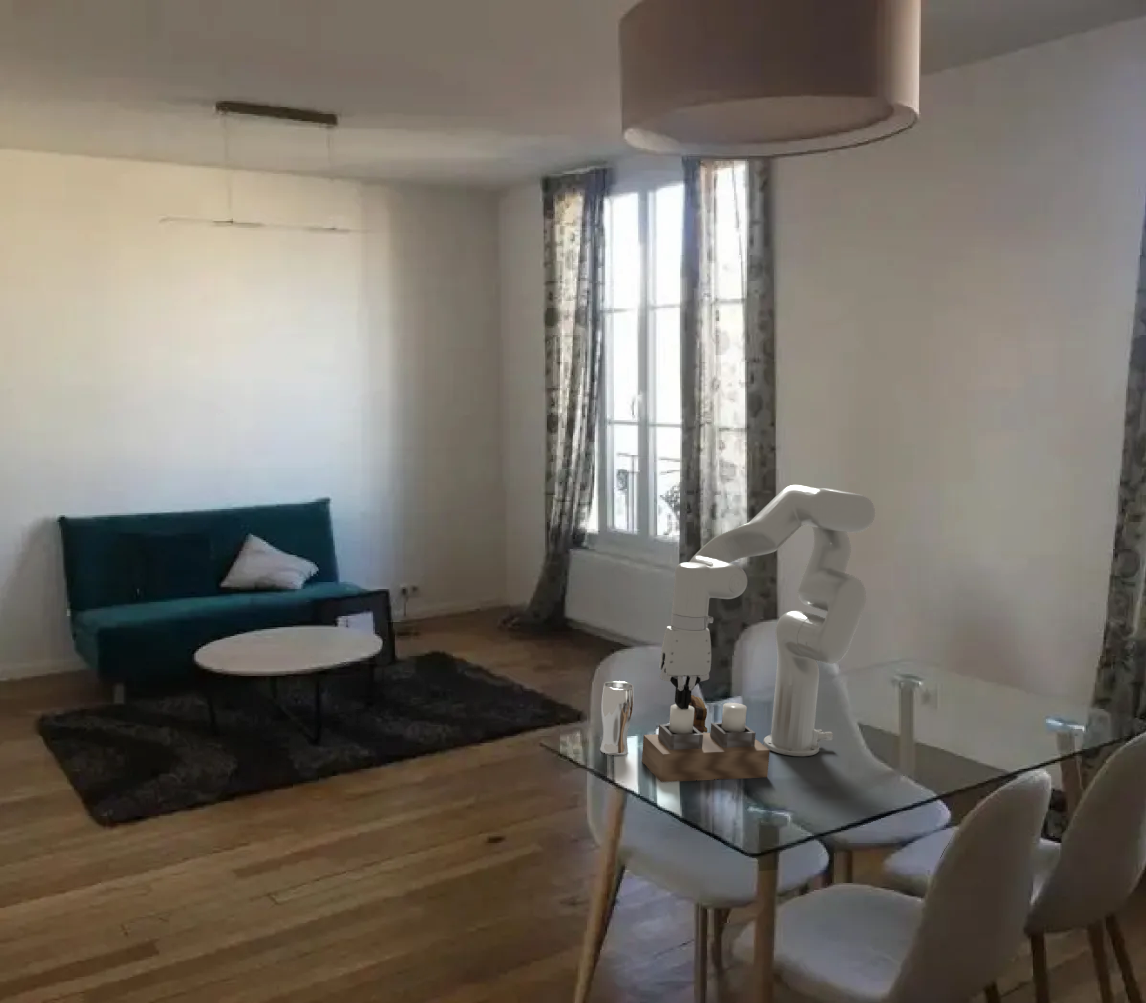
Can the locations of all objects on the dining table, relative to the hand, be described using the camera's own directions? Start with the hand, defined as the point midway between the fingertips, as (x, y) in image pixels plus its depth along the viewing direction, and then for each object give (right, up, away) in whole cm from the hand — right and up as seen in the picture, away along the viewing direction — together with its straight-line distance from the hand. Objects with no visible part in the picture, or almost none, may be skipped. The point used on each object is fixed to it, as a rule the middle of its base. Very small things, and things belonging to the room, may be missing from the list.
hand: (682, 706), depth 250 cm
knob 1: (0, -5, +1) cm, 5 cm away
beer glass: (-14, -12, +11) cm, 22 cm away
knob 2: (+11, -5, +4) cm, 13 cm away
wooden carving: (+3, -12, +23) cm, 26 cm away
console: (+5, -14, +4) cm, 15 cm away
